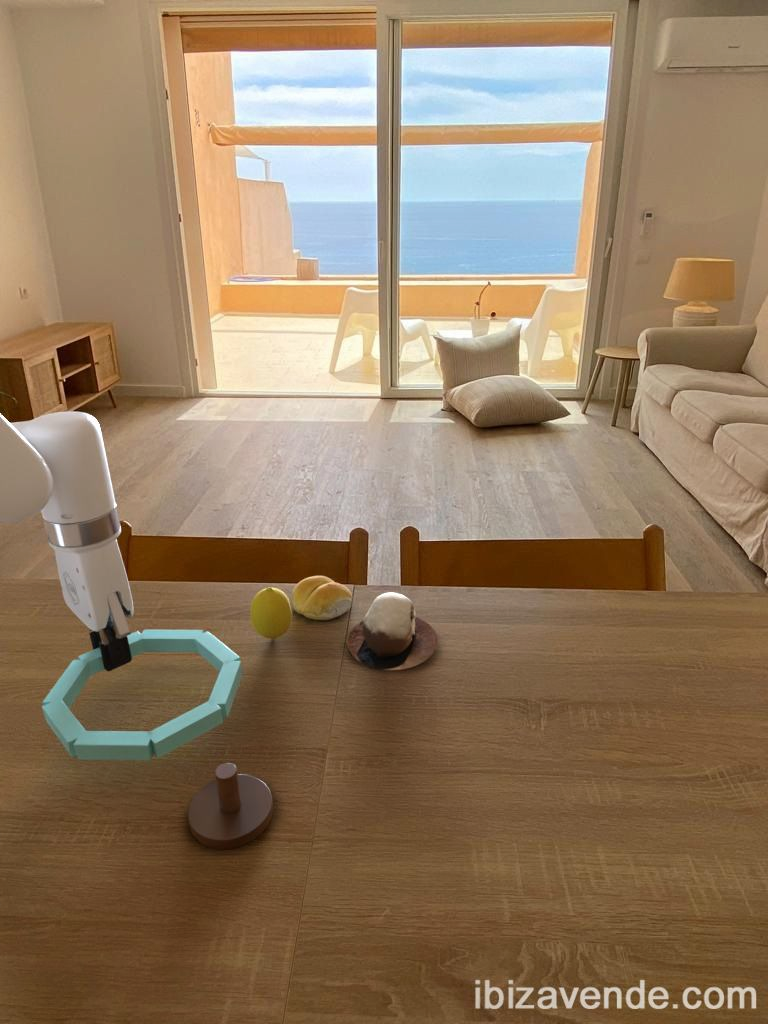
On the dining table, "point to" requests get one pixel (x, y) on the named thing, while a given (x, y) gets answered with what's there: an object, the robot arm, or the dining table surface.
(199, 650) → the ring
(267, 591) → the lemon
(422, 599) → the dining table surface
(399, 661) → the iced cupcake on saucer
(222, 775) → the post
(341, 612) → the bread roll
